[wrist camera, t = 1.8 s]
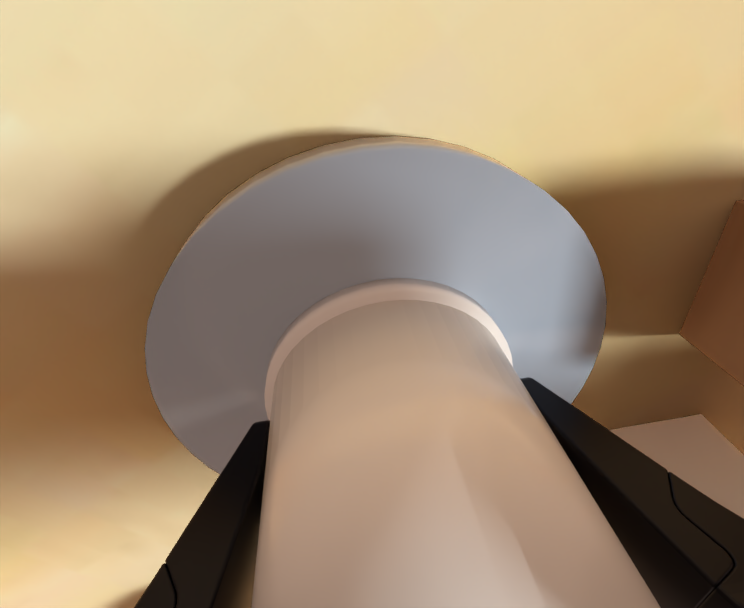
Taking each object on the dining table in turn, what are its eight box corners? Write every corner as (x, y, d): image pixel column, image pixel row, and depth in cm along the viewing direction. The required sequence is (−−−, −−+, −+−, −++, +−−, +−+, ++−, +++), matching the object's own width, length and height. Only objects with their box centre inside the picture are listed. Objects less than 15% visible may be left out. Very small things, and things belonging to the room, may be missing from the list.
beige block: (700, 413, 16) (878, 585, 11) (664, 479, 18) (795, 643, 13) (590, 432, 16) (721, 617, 11) (569, 496, 18) (667, 670, 13)
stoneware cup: (515, 259, 9) (830, 601, 4) (494, 437, 13) (636, 747, 7) (235, 300, 9) (112, 747, 3) (293, 471, 13) (281, 824, 7)
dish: (629, 103, 9) (669, 112, 8) (547, 445, 16) (563, 473, 15) (67, 175, 8) (34, 194, 7) (234, 500, 15) (229, 533, 14)
